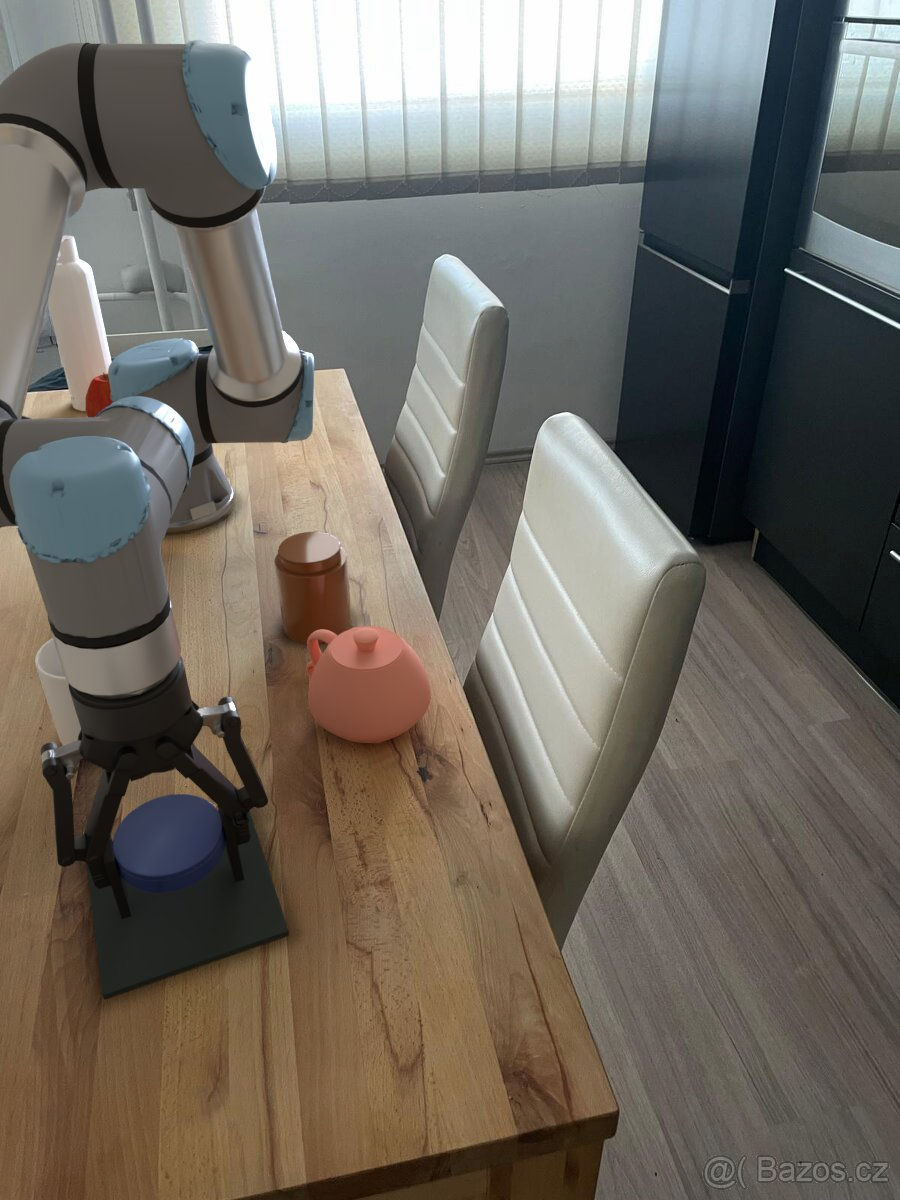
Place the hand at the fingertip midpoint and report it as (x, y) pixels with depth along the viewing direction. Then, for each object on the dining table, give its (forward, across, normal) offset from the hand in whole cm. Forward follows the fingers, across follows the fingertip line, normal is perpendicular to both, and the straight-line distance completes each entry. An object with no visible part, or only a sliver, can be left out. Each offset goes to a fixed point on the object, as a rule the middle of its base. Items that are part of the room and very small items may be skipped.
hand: (181, 886), depth 75 cm
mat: (+1, 0, 0) cm, 1 cm away
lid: (-6, 0, 0) cm, 6 cm away
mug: (+1, +2, -23) cm, 23 cm away
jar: (+1, -21, -33) cm, 39 cm away
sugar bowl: (+1, -21, -16) cm, 26 cm away
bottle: (+2, -4, -115) cm, 115 cm away
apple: (+2, -6, -99) cm, 99 cm away
